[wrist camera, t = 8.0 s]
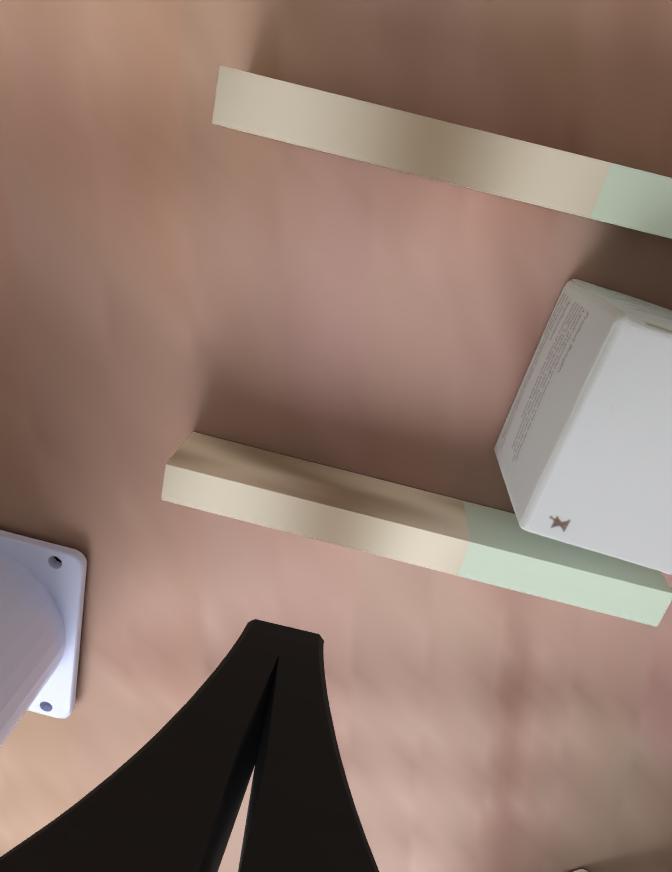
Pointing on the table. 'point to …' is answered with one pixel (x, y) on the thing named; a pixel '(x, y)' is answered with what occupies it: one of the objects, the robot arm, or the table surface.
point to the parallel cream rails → (385, 501)
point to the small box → (596, 428)
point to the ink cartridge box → (580, 870)
